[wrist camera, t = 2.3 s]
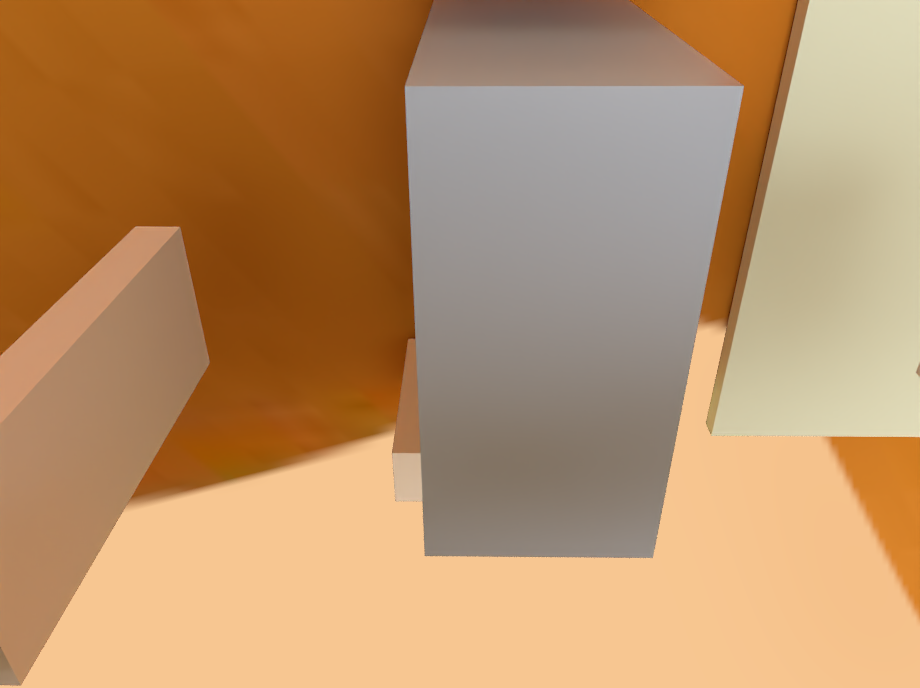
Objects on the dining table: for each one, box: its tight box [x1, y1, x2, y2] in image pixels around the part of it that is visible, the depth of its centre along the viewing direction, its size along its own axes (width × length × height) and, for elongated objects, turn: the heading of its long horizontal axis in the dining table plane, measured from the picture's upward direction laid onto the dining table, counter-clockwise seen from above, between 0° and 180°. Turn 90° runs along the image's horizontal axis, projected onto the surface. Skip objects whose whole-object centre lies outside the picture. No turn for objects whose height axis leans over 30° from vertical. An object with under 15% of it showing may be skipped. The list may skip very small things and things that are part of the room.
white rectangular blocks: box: [392, 339, 423, 501], centre depth 16 cm, size 6×13×5 cm, turn 0°
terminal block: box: [405, 0, 744, 558], centre depth 15 cm, size 4×8×9 cm, turn 0°
